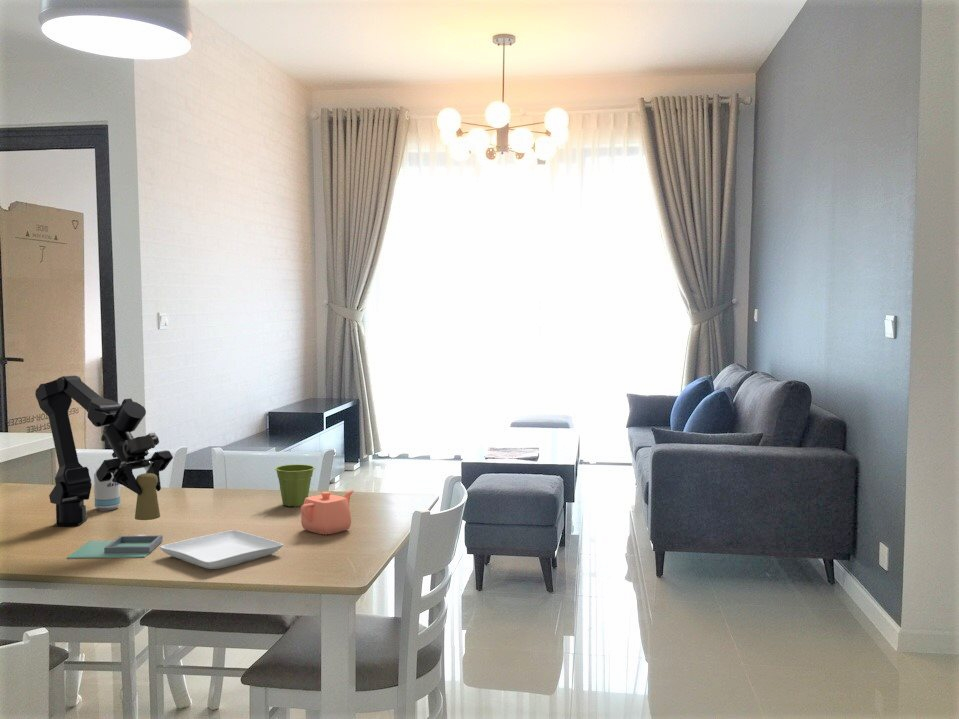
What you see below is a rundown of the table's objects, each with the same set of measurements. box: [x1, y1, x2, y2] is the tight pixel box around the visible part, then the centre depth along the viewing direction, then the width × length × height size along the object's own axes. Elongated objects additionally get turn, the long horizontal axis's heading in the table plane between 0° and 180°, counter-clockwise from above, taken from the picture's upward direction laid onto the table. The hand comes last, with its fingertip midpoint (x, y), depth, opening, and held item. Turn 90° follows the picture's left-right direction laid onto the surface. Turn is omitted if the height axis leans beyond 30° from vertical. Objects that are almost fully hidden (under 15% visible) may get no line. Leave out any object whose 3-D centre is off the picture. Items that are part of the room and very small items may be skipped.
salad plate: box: [159, 529, 284, 570], centre depth 205 cm, size 21×21×3 cm
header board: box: [66, 534, 164, 559], centre depth 210 cm, size 18×14×2 cm
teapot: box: [299, 489, 355, 536], centre depth 230 cm, size 12×18×10 cm, turn 139°
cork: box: [134, 472, 161, 521], centre depth 215 cm, size 6×6×11 cm
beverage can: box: [93, 467, 121, 512], centre depth 251 cm, size 7×7×12 cm
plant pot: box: [274, 464, 316, 507], centre depth 258 cm, size 12×12×11 cm
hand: (150, 491), depth 214 cm, fingers closed on cork, 5 cm apart
